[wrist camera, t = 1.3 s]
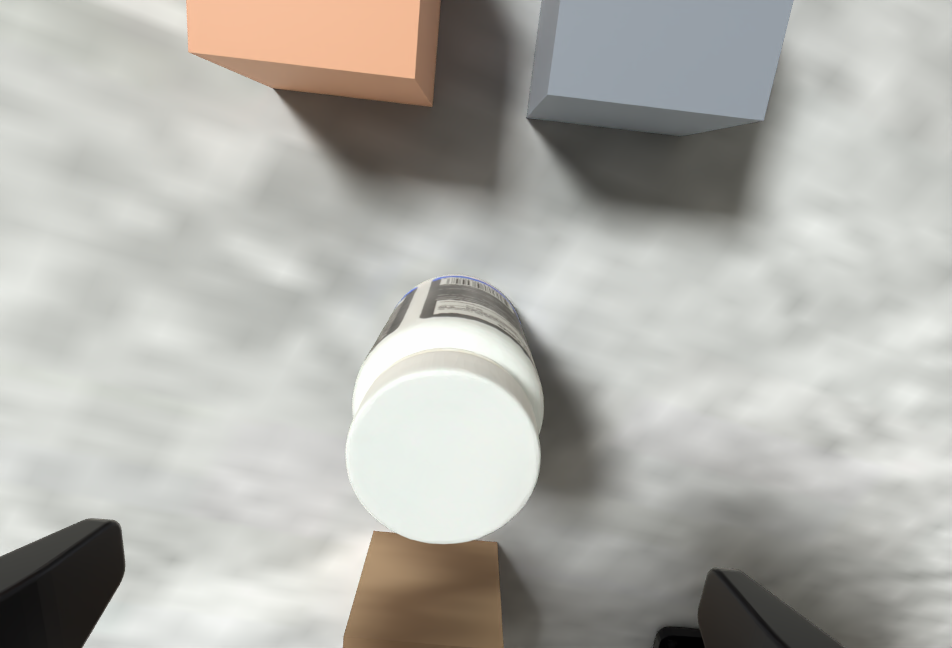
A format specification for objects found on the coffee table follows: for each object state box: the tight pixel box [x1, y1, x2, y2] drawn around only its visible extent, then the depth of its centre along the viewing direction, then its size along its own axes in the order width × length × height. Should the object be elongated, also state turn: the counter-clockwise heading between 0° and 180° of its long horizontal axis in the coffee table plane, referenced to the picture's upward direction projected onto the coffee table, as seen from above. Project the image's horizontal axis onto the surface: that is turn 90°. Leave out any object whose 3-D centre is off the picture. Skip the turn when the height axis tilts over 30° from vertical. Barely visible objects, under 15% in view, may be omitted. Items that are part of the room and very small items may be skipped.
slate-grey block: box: [526, 0, 794, 136], centre depth 13 cm, size 5×5×5 cm
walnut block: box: [343, 531, 504, 648], centre depth 19 cm, size 5×5×5 cm
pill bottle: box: [345, 274, 544, 544], centre depth 14 cm, size 5×5×8 cm
